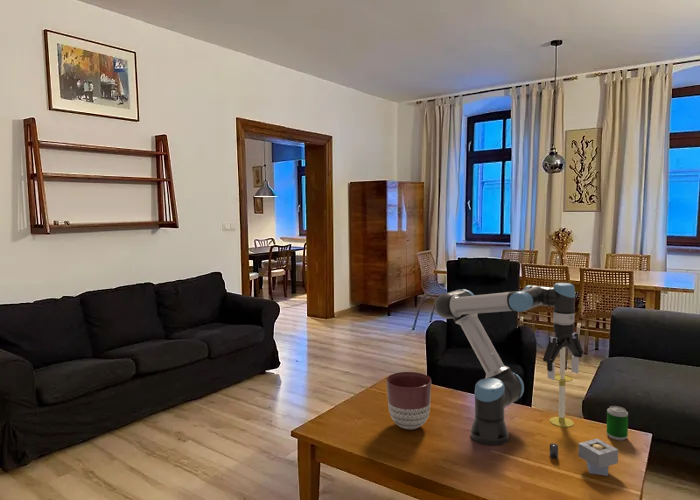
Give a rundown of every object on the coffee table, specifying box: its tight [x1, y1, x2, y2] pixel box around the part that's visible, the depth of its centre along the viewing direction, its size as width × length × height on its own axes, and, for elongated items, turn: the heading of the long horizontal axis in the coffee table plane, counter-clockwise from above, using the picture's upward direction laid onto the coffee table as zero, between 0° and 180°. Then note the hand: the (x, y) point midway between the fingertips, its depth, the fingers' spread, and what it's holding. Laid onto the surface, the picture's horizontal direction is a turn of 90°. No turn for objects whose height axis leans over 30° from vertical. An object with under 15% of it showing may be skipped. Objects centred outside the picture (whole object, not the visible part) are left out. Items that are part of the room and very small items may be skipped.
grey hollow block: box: [577, 438, 619, 468], centre depth 174 cm, size 9×9×5 cm
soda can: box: [606, 405, 629, 441], centre depth 198 cm, size 8×8×12 cm
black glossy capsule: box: [549, 442, 559, 460], centre depth 184 cm, size 3×3×4 cm
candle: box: [549, 346, 575, 428], centre depth 211 cm, size 10×10×38 cm
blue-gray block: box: [586, 444, 609, 477], centre depth 174 cm, size 6×6×9 cm
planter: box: [386, 371, 432, 430], centre depth 212 cm, size 20×20×21 cm
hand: (563, 375), depth 190 cm, fingers open, 13 cm apart
